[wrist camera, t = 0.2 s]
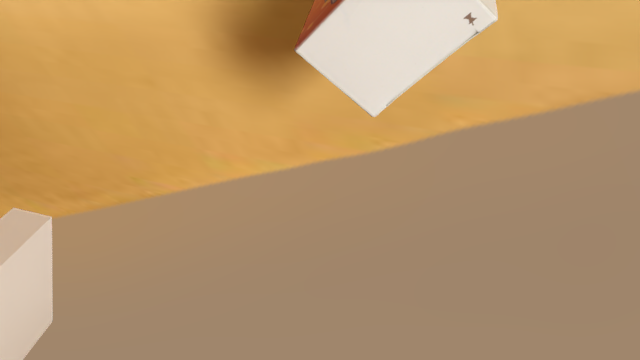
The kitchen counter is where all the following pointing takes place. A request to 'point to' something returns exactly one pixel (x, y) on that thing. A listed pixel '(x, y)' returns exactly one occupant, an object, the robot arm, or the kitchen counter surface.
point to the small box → (387, 42)
